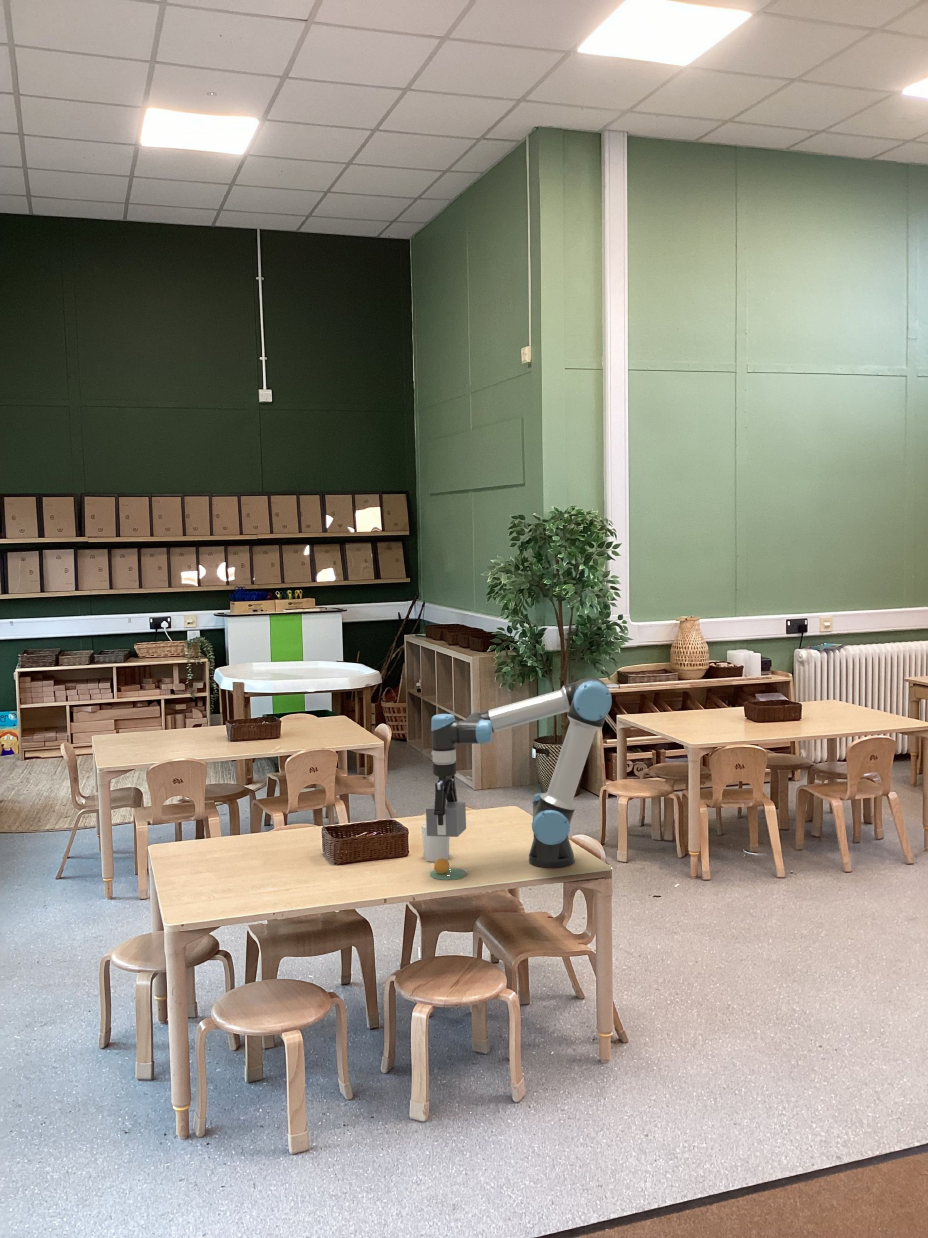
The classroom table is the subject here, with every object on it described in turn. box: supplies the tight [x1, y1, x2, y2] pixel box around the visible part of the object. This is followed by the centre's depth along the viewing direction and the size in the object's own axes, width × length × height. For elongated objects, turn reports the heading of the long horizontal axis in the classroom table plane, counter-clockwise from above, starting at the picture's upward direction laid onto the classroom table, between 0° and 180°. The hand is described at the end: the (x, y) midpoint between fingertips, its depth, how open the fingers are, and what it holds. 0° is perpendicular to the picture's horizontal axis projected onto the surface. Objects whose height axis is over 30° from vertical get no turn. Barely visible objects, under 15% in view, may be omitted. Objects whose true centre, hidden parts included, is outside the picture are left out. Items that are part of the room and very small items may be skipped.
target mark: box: [429, 867, 468, 881], centre depth 350 cm, size 12×12×1 cm
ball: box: [433, 858, 450, 874], centre depth 350 cm, size 5×5×5 cm
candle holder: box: [421, 821, 451, 863], centre depth 367 cm, size 10×10×12 cm
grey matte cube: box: [425, 801, 467, 838], centre depth 349 cm, size 10×10×9 cm
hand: (446, 830), depth 349 cm, fingers closed on grey matte cube, 10 cm apart
